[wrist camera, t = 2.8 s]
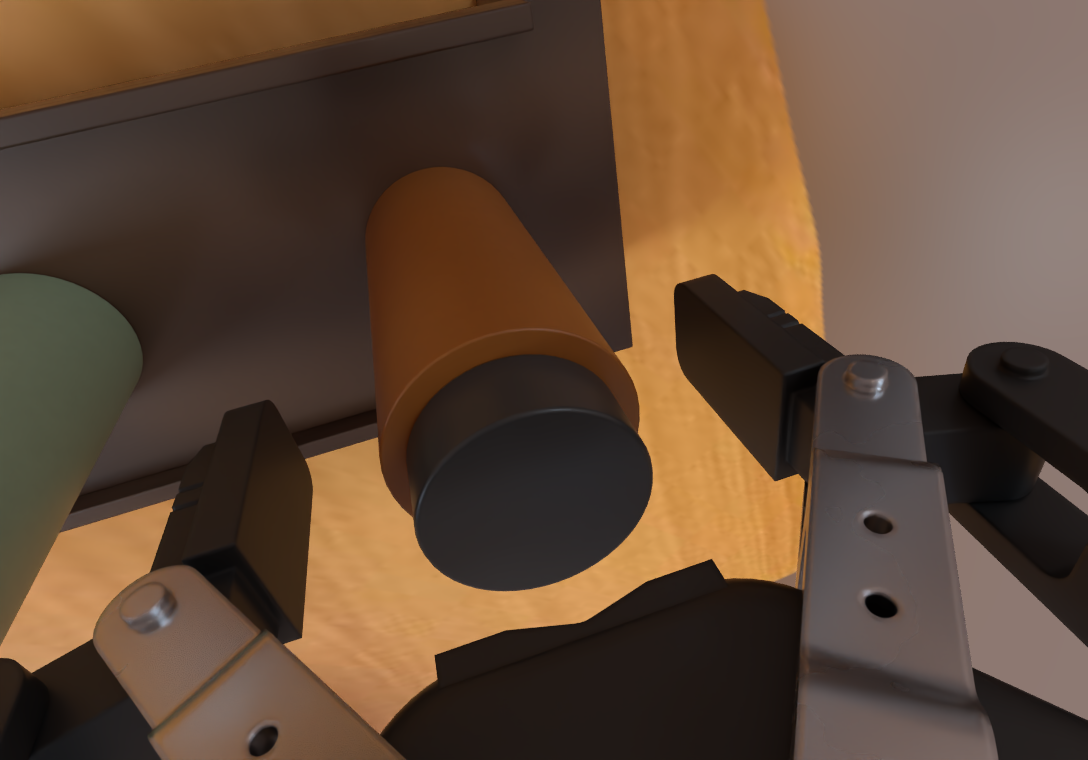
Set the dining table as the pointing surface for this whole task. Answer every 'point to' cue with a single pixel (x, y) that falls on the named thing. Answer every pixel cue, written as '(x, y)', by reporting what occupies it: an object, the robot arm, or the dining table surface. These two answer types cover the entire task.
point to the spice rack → (301, 212)
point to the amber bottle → (495, 392)
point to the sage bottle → (53, 413)
